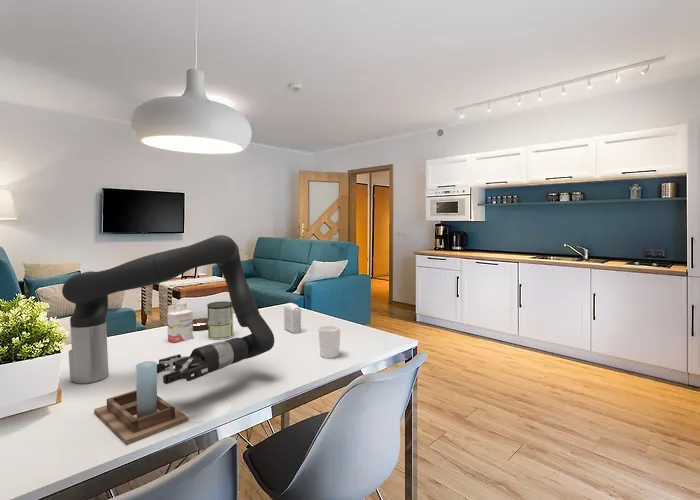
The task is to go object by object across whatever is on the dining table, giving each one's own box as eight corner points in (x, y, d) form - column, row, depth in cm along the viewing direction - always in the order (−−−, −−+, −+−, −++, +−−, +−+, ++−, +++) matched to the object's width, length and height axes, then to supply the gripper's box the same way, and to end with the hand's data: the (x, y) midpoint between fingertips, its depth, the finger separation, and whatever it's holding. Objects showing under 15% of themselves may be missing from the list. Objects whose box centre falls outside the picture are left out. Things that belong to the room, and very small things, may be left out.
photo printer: (302, 332, 173) (302, 304, 172) (293, 334, 171) (293, 306, 170) (291, 327, 181) (291, 300, 180) (283, 329, 179) (282, 302, 178)
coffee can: (203, 336, 168) (202, 303, 167) (226, 331, 175) (225, 300, 174) (215, 341, 160) (214, 307, 159) (238, 336, 168) (237, 303, 167)
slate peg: (132, 419, 95) (131, 365, 94) (147, 411, 99) (147, 360, 98) (146, 422, 93) (145, 368, 92) (161, 414, 97) (160, 362, 96)
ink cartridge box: (173, 343, 158) (172, 307, 157) (167, 341, 161) (166, 305, 160) (193, 338, 165) (192, 303, 164) (187, 336, 168) (186, 302, 167)
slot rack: (94, 413, 101) (93, 399, 101) (151, 394, 111) (150, 382, 111) (126, 444, 86) (125, 429, 86) (188, 420, 97) (188, 406, 97)
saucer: (175, 329, 180) (175, 323, 179) (200, 322, 193) (200, 316, 193) (199, 333, 173) (199, 327, 173) (223, 325, 187) (223, 319, 186)
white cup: (344, 354, 144) (344, 328, 143) (329, 360, 138) (329, 332, 137) (329, 350, 149) (329, 324, 148) (314, 355, 143) (313, 328, 143)
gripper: (197, 339, 114) (140, 355, 101) (227, 349, 106) (169, 367, 93) (198, 365, 115) (141, 383, 102) (228, 376, 106) (170, 398, 93)
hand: (155, 376), depth 97 cm, fingers open, 8 cm apart
